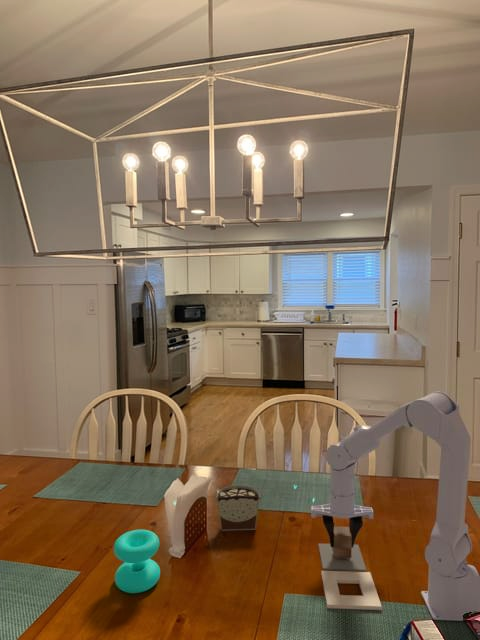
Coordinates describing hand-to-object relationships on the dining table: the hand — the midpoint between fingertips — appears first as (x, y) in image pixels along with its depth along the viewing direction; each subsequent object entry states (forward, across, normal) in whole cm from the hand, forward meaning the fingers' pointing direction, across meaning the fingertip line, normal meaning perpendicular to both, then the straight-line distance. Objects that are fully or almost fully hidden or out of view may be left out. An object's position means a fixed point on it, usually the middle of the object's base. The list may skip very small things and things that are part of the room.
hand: (341, 545), depth 113 cm
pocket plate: (+3, 0, +12) cm, 12 cm away
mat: (+3, 0, 0) cm, 3 cm away
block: (+2, 0, 0) cm, 2 cm away
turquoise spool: (+3, +47, +11) cm, 48 cm away
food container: (+3, +26, -14) cm, 30 cm away
